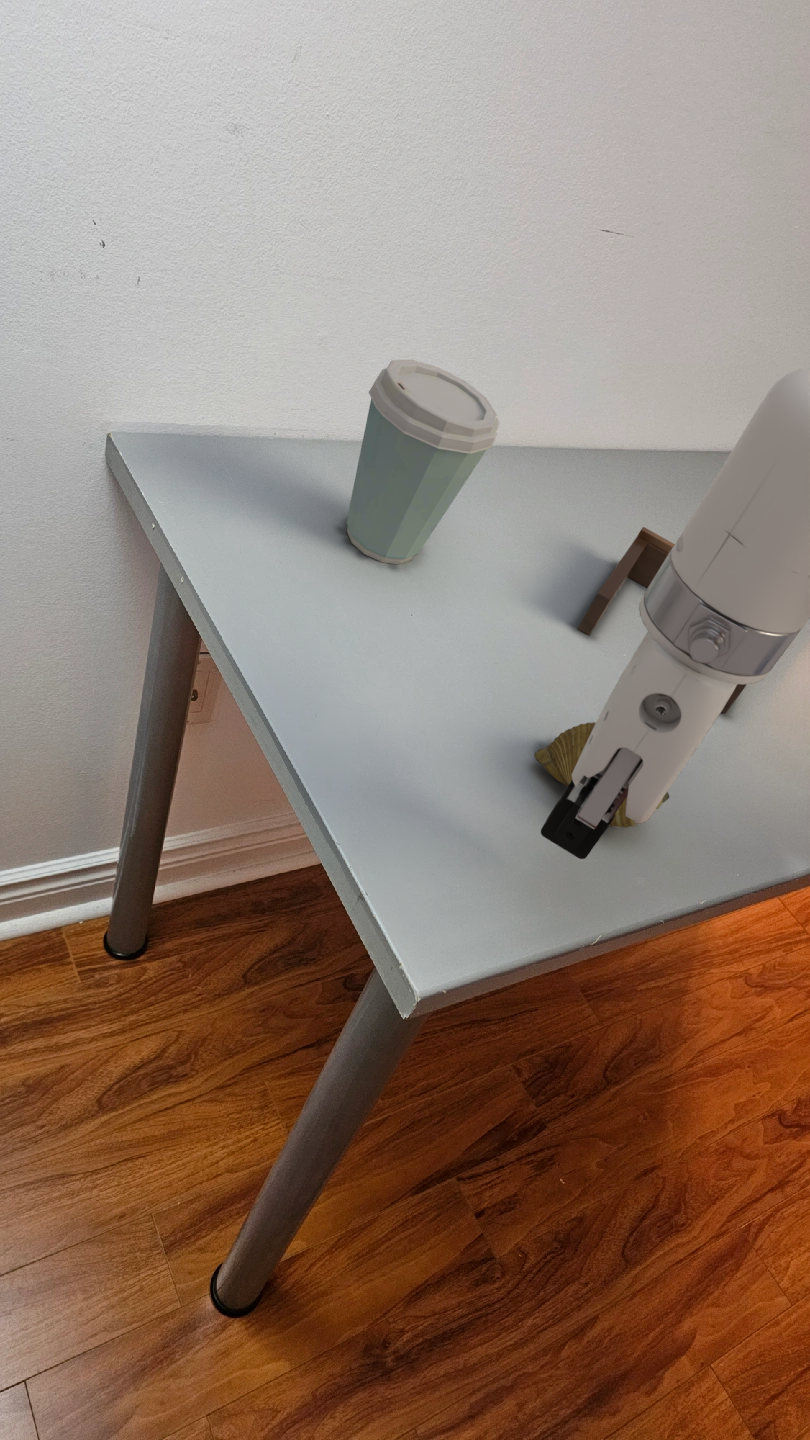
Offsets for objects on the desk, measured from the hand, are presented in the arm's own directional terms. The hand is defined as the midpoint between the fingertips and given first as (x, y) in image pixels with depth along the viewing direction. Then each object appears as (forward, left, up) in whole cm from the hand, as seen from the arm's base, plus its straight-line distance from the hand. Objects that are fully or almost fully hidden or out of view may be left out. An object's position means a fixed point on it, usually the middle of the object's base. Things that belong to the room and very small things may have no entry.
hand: (565, 839), depth 66 cm
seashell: (0, -10, -4) cm, 11 cm away
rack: (0, -36, -4) cm, 37 cm away
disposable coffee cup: (+25, -25, -4) cm, 36 cm away
